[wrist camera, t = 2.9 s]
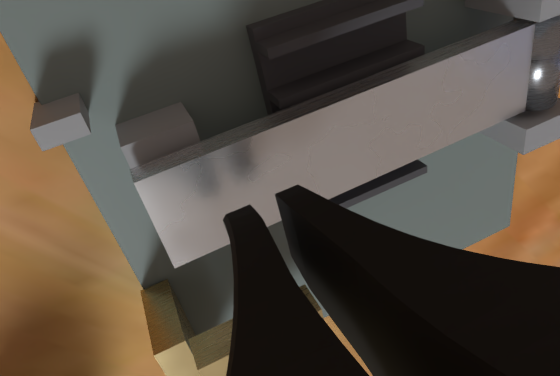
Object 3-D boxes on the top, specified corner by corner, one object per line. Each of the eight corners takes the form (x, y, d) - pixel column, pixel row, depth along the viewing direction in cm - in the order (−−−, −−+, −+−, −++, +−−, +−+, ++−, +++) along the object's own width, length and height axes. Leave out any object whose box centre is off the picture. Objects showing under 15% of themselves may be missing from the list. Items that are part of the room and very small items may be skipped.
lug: (271, 233, 17) (321, 309, 14) (295, 317, 20) (342, 397, 17) (140, 290, 16) (160, 388, 13) (186, 371, 19) (212, 468, 15)
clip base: (550, -247, 13) (681, -292, 10) (503, 221, 23) (562, 262, 21) (-82, -103, 10) (-142, -113, 7) (188, 376, 20) (208, 450, 17)
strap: (539, 4, 15) (583, 11, 14) (529, 86, 17) (568, 99, 16) (127, 162, 12) (136, 190, 11) (166, 244, 14) (177, 277, 12)
